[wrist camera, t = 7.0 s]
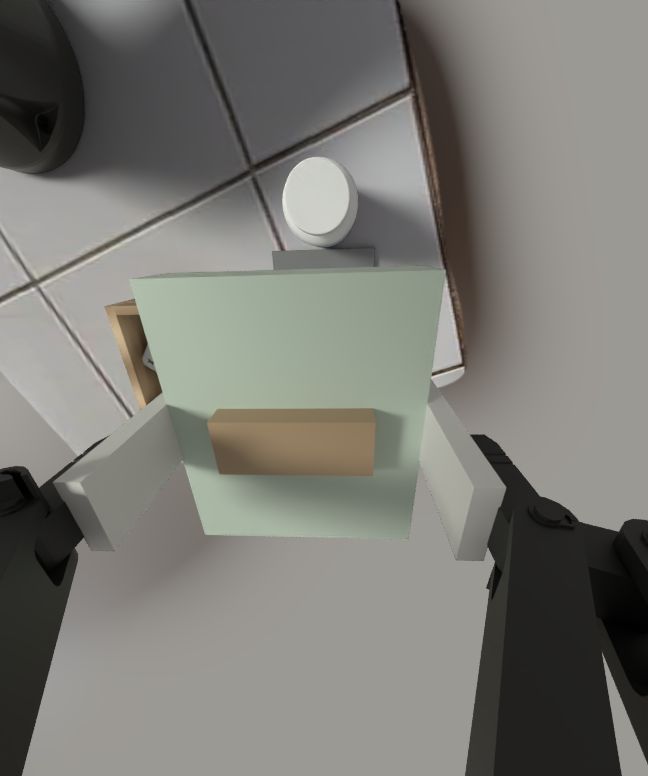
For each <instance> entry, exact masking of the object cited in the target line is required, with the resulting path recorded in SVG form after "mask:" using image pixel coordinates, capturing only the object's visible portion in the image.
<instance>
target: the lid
mask: <svg viewBox="0 0 648 776" xmlns="http://www.w3.org/2000/svg"><path fill="white" fill-rule="evenodd" d="M445 273H446V270H444V269H439V268H434V267H430V266H425V265H422V266H389V267H356V268H323V269H290V270H257V271H224V272H191V273H167V274H160V275H154V276H147V277H140V278H134V279H129V282H130V285H131V288H132V292H133V295H134V298H135V302H136V305H137V308H138V312H139V315H140V318H141V322H142V325H143V328H144V332H145V335H146V338H147V342H148V345H149V348H150V352H151V355H152V358H153V362H154V365H155V368H156V372H157V375H158V378H159V382H160V385H161V388H162V392H163V395H164V398H165V402H166V404H167V407H168V410H169V414H170V417H171V421H172V424H173V427H174V431H175V434H176V437H177V441H178V444H179V447H180V451H181V454H182V457H183V462H184V465H185V468H186V472H187V475H188V478H189V481H190V485H191V489H192V492H193V495H194V498H195V502H196V505H197V508H198V512H199V515H200V519H201V522H202V525H203V528H204V532H205V535H243V536H244V535H245V536H247V535H248V536H289V537H334V538H378V539H409V534H410V526H411V519H412V512H413V505H414V497H415V490H416V483H417V475H418V468H419V458H420V451H421V444H422V436H423V429H424V422H425V415H426V407H427V403H428V396H429V389H430V381H431V374H432V367H433V360H434V352H435V345H436V338H437V331H438V323H439V316H440V309H441V302H442V294H443V287H444V280H445Z"/></svg>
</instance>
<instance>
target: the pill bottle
mask: <svg viewBox="0 0 648 776" xmlns="http://www.w3.org/2000/svg"><path fill="white" fill-rule="evenodd" d="M282 204H283V212H284V216H285V219H286V222H287V224H288V226H289V227H290V229H291V230H292V232H293V233H294V234H295V235H296V236H297V237H298V238H299V239H301V240H302V241H304V242H305V243H308V244H310V245H314V246H318V247H330V246H333V245H336V244H338V243H339V242H341V241H342V240H343V239H344V238H345V237H346V236H347V235H348V233H349V232H350V230H351V228H352V226H353V223H354V221H355V219H356V216H357V210H358V193H357V188H356V185H355V182H354V180H353V178H352V176H351V175H350V173H349V172H348V170H347V169H346V168H345V167H344V166H343V165H341V164H340V163H339V162H337V161H335V160H333V159H330V158H326V157H311V158H308V159H305V160H303V161H301V162H300V163H299V164H297V165H296V166H295V167H294V168H293V170H292V171H291V173H290V174H289V176H288V179H287V181H286V184H285V187H284V191H283V198H282Z"/></svg>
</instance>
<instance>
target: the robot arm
mask: <svg viewBox="0 0 648 776" xmlns="http://www.w3.org/2000/svg"><path fill="white" fill-rule="evenodd" d="M83 119H84V96H83V88H82V82H81V77H80V73H79V69H78V65H77V62H76V59H75V56H74V53H73V50H72V48H71V45H70V43H69V41H68V38H67V36H66V34H65V32H64V30H63V28H62V26H61V24H60V23H59V21H58V19H57V17H56V16H55V14H54V12H53V11H52V9H51V8H50V6H49V5H48V4H47V2H46V1H45V0H0V167H3V168H7V169H11V170H15V171H19V172H25V173H42V172H47V171H50V170H53V169H55V168H57V167H58V166H60V165H61V164H63V163H64V162H65V161H66V160H67V159H68V158H69V157H70V155H71V154H72V153H73V151H74V149H75V148H76V146H77V143H78V141H79V138H80V135H81V131H82V126H83ZM182 460H183V457H182V454H181V451H180V447H179V444H178V441H177V437H176V434H175V431H174V427H173V424H172V421H171V417H170V414H169V410H168V407H167V404H166V402H165V398H164V395H163V393H161V394H160V395H159V396H158V397H156V398H155V399H154V400H153V401H151V402H150V403H149V404H148V405H147V406H145V407H144V408H143V409H142V410H140V411H139V412H138V413H137V414H136V415H134V416H133V417H132V418H131V419H129V420H128V421H127V422H126V423H125V424H123V425H122V426H121V427H120V428H118V429H117V430H116V431H115V432H114V433H112V434H111V435H109V436H107V437H105V438H104V439H102V440H100V441H98V442H96V443H95V444H93V445H92V446H91V447H90V448H88V449H87V450H86V451H85V452H84V454H81V455H79V456H78V457H77V458H76V459H74V462H71V463H69V464H68V465H67V466H66V467H64V468H63V469H62V470H61V471H59V472H58V473H57V474H56V475H55V476H53V477H52V478H51V479H50V480H48V481H47V482H46V483H44V484H43V485H42V486H41V487H40V488H38V486H37V484H36V483H35V481H34V479H33V478H32V476H31V474H30V472H29V471H28V469H26V468H25V467H21V466H14V467H8V468H3V469H0V776H22V773H23V769H24V765H25V761H26V757H27V753H28V750H29V746H30V742H31V738H32V734H33V730H34V726H35V723H36V719H37V715H38V711H39V707H40V704H41V699H42V696H43V692H44V688H45V684H46V681H47V677H48V673H49V669H50V665H51V661H52V658H53V654H54V650H55V646H56V642H57V639H58V635H59V631H60V627H61V623H62V619H63V615H64V612H65V608H66V604H67V600H68V596H69V592H70V589H71V585H72V581H73V577H74V573H75V570H76V566H77V562H78V553H77V551H76V550H75V547H76V546H77V544H78V543H79V542H80V541H81V540H82V539H83V538H84V539H85V541H86V542H87V544H88V546H89V548H90V550H91V551H116V549H117V548H118V547H119V545H120V544H121V543H122V541H123V540H124V539H125V537H126V536H127V535H128V533H129V532H130V531H131V529H132V528H133V526H134V525H135V524H136V522H137V521H138V520H139V518H140V517H141V516H142V514H143V513H144V512H145V510H146V509H147V508H148V506H149V505H150V503H151V502H152V501H153V499H154V498H155V497H156V495H157V494H158V493H159V491H160V490H161V489H162V487H163V486H164V484H165V483H166V482H167V481H168V479H169V478H170V476H171V475H172V474H173V472H174V471H175V470H176V468H177V467H178V466H179V464H180V463H181V462H182ZM419 462H420V465H421V467H422V470H423V473H424V476H425V478H426V481H427V484H428V486H429V489H430V492H431V495H432V497H433V500H434V502H435V505H436V508H437V511H438V513H439V516H440V519H441V522H442V524H443V527H444V529H445V532H446V535H447V538H448V540H449V543H450V546H451V549H452V551H453V554H454V557H455V559H456V560H465V561H467V560H468V561H484V558H485V554H486V551H487V548H489V550H490V552H491V554H492V556H493V558H494V560H495V564H494V567H493V570H492V573H491V575H490V578H489V581H488V584H487V587H486V588H487V589H489V590H490V591H489V598H488V606H487V614H486V621H485V629H484V636H483V644H482V651H481V659H480V666H479V674H478V682H477V690H476V697H475V704H474V713H473V720H472V727H471V735H470V743H469V750H468V758H467V765H466V773H465V776H622V775H621V769H620V762H619V756H618V750H617V744H616V738H615V731H614V725H613V719H612V713H611V707H610V701H609V694H608V689H607V682H606V676H605V669H604V663H603V657H602V652H603V655H604V657H605V660H606V662H607V665H608V667H609V670H610V672H611V675H612V677H613V680H614V682H615V685H616V687H617V689H618V692H619V694H620V697H621V699H622V701H623V704H624V707H625V709H626V711H627V714H628V717H629V719H630V721H631V724H632V726H633V729H634V731H635V734H636V736H637V739H638V741H639V744H640V746H641V748H642V751H643V753H644V756H645V758H646V761H647V763H648V521H647V520H639V519H631V520H628V521H625V522H624V524H623V526H622V527H621V529H620V531H619V532H617V531H613V530H609V529H605V528H601V527H597V526H593V525H589V524H585V523H582V522H579V521H578V519H577V518H576V517H575V516H574V515H573V514H572V513H571V512H570V511H569V510H568V509H566V508H565V507H563V506H562V505H560V504H559V503H557V502H555V501H552V500H550V499H547V498H545V497H540V496H539V495H538V493H537V492H536V491H535V490H534V488H533V487H532V486H531V485H530V483H529V482H528V481H527V480H526V478H525V477H524V476H523V475H522V473H521V472H520V471H519V470H518V468H517V467H516V466H515V465H513V463H512V461H511V460H510V459H509V457H508V456H506V454H505V452H504V451H503V450H502V449H501V448H500V446H499V445H498V444H497V443H496V442H494V441H493V440H492V439H490V438H488V437H487V436H485V435H470V434H469V433H468V432H467V430H466V429H465V427H464V426H463V424H462V423H461V422H460V420H459V419H458V417H457V416H456V414H455V413H454V411H453V410H452V409H451V407H450V406H449V404H448V403H447V401H446V400H445V398H444V397H443V396H442V394H441V393H440V391H439V390H438V388H437V387H436V385H435V384H434V383H433V381H432V380H431V381H430V389H429V396H428V403H427V407H426V415H425V422H424V429H423V436H422V444H421V451H420V458H419ZM601 650H602V651H601Z"/></svg>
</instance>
